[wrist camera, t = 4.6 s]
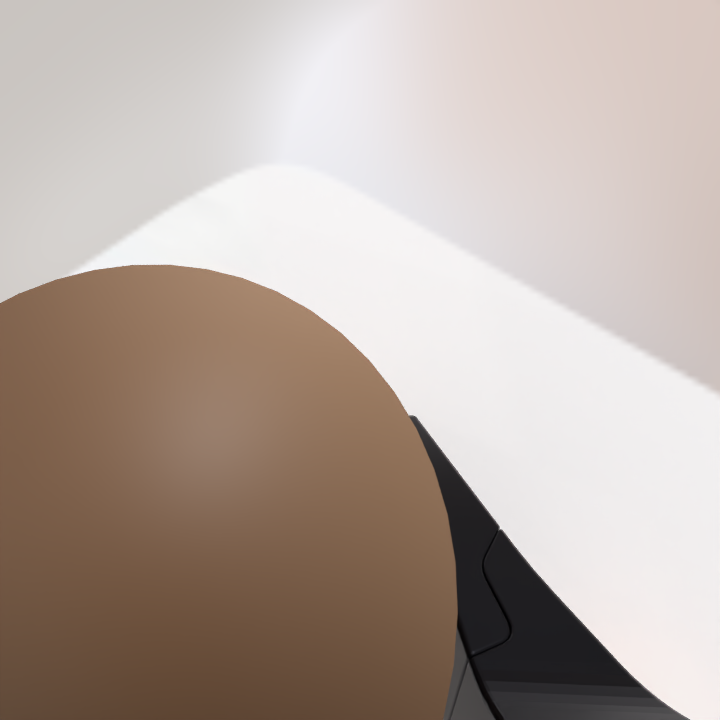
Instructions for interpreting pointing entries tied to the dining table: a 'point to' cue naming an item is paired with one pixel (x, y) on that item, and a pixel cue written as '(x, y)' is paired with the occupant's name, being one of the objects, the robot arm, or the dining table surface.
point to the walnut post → (211, 511)
